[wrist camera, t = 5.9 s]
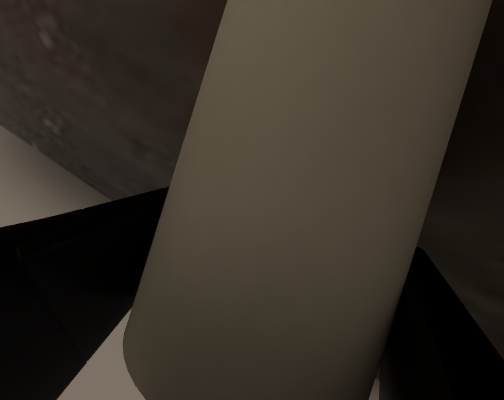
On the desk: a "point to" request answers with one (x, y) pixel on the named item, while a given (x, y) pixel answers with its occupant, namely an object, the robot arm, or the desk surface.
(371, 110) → the paper towel roll
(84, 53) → the desk surface
